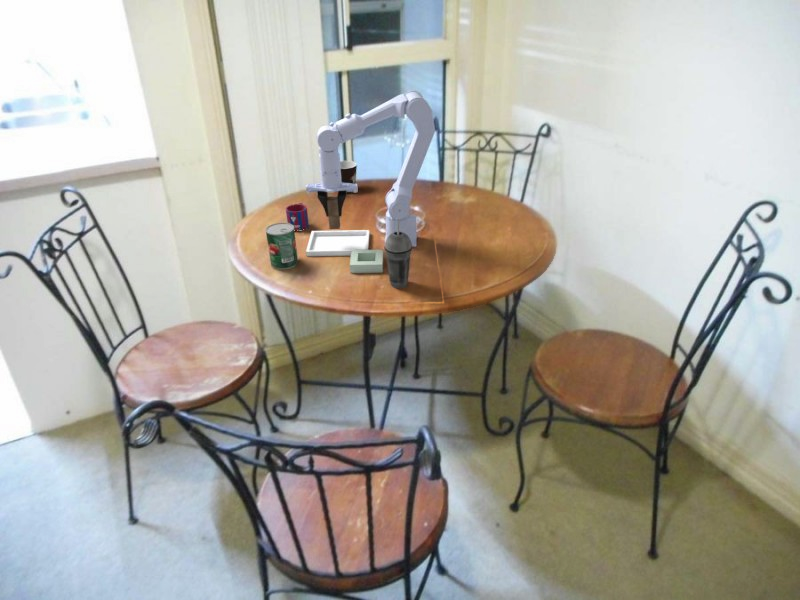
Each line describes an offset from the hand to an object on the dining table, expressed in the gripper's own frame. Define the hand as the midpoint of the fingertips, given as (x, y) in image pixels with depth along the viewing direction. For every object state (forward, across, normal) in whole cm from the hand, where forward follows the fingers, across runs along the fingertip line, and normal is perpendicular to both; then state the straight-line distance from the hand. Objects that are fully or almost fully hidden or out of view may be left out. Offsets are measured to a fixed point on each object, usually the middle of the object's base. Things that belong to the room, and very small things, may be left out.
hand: (334, 215), depth 166 cm
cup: (+11, -13, +16) cm, 24 cm away
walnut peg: (+4, 0, 0) cm, 4 cm away
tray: (+10, +1, 0) cm, 10 cm away
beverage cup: (+11, +19, -24) cm, 32 cm away
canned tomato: (+11, -14, -10) cm, 20 cm away
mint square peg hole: (+10, +10, -13) cm, 19 cm away
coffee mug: (+11, -1, +46) cm, 47 cm away
